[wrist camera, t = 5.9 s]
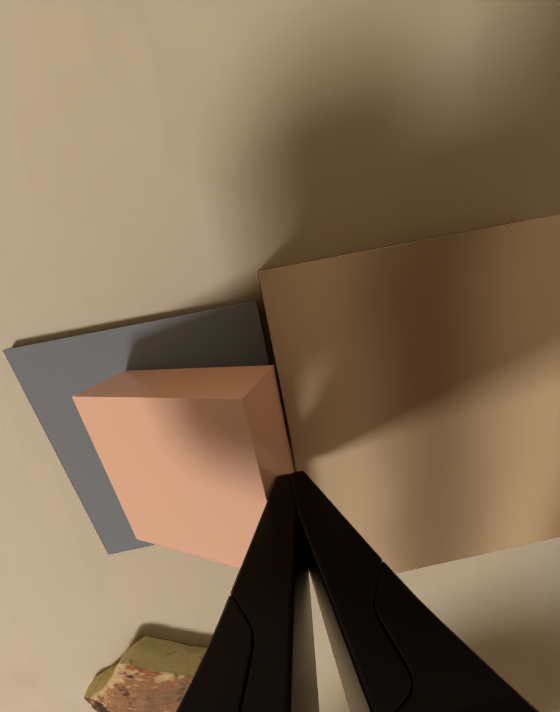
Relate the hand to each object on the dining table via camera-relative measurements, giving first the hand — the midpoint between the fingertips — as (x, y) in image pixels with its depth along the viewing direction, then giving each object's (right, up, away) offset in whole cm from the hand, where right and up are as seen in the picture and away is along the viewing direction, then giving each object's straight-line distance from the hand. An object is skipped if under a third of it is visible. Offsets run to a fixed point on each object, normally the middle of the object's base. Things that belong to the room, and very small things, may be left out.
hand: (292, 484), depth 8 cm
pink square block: (-3, +1, +2) cm, 3 cm away
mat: (-5, 0, +4) cm, 6 cm away
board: (+5, +2, +4) cm, 7 cm away
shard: (-6, -16, +9) cm, 20 cm away
